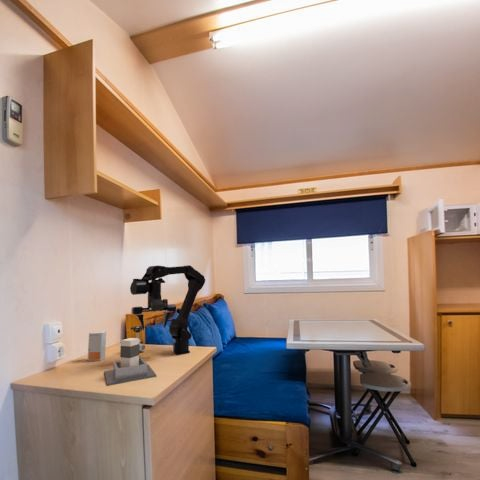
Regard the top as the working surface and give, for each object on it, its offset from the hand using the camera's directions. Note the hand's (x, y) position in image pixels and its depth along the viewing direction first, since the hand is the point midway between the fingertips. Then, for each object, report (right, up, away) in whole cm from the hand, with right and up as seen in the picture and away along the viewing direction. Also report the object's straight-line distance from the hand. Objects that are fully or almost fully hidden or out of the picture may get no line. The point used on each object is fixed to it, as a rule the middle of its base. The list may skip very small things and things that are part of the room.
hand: (154, 329), depth 126 cm
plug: (-3, -10, -21) cm, 24 cm away
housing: (-3, -10, -21) cm, 24 cm away
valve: (-12, -16, +13) cm, 23 cm away
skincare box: (-26, -14, +1) cm, 30 cm away
